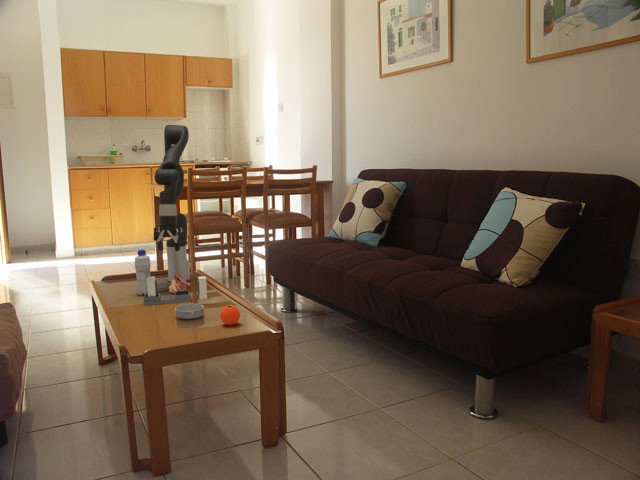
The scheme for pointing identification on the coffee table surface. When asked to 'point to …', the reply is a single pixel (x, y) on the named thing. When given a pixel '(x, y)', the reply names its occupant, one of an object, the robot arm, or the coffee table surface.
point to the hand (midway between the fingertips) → (168, 250)
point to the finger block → (202, 287)
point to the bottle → (142, 271)
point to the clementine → (230, 315)
